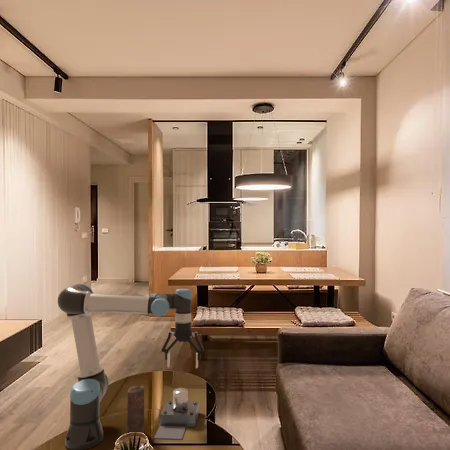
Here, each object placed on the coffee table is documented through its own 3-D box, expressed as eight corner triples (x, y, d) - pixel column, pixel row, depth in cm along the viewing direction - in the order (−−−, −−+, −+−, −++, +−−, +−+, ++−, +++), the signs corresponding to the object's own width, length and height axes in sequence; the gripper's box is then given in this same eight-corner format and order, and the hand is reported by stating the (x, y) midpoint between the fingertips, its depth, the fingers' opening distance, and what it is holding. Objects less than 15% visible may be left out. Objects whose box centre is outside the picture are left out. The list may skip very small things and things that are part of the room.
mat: (153, 438, 154) (153, 437, 154) (159, 426, 164) (159, 426, 164) (181, 439, 153) (181, 438, 153) (185, 427, 163) (185, 426, 163)
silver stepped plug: (171, 422, 168) (171, 393, 169) (174, 415, 175) (174, 387, 176) (186, 422, 168) (186, 394, 168) (188, 415, 175) (188, 388, 175)
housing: (160, 425, 165) (160, 413, 165) (166, 411, 179) (167, 400, 179) (194, 426, 164) (194, 414, 164) (199, 412, 178) (199, 401, 178)
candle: (139, 440, 153) (139, 391, 154) (123, 438, 155) (124, 390, 156) (146, 430, 161) (147, 384, 162) (131, 429, 162) (132, 383, 163)
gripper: (155, 322, 170) (154, 369, 169) (208, 323, 169) (208, 370, 167) (159, 319, 177) (158, 363, 176) (210, 320, 176) (209, 364, 175)
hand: (182, 367), depth 172 cm, fingers open, 13 cm apart
